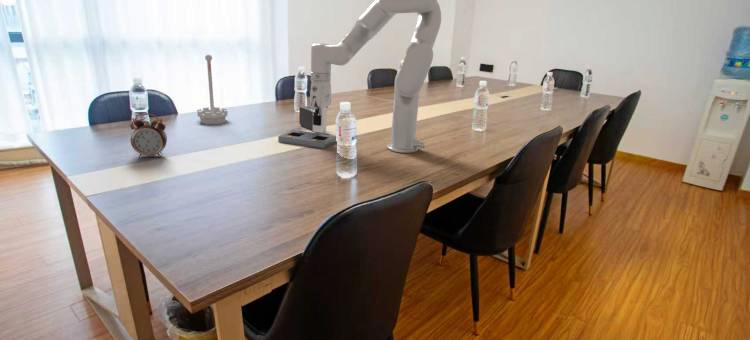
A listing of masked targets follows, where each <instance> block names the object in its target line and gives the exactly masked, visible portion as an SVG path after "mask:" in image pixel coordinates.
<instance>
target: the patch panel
mask: <svg viewBox="0 0 750 340" xmlns="http://www.w3.org/2000/svg"><path fill="white" fill-rule="evenodd" d="M336 136H337V135H331V134H324V133H320V132H319V133H317V132H313V131H312V132H310V131H304V130H298V129H297V130H296V129H293V130H290V131H288V132H285V133H283V134H280V135H278V143H282V144H289V145H297V146H302V147H310V148H316V149H322V150H325V149H326V148H328V147H330V146H331V145H334V144H335V143H337V142H336Z"/></svg>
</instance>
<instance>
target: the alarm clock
mask: <svg viewBox="0 0 750 340" xmlns="http://www.w3.org/2000/svg"><path fill="white" fill-rule="evenodd" d="M140 116H152V117H155V119H154V120H152V122H151V123H150V121H144V120H142V119H140V118H139V117H140ZM129 125H130V126H129V127H130V129H131V130H132V131H133V132H132V133H131V136H130V145H131V147H132V148H133V150H134V151H135V152H137V154H138V155H139V156H138V158H139V159H140V158H141V156H145V157H152V156H153V157H154V156H156V155H157V156H159V158H162V156H161V155H163V151H164V149H165V148H166V147H167V146H166V145H167V141H168V137H167V133H166V131H165V130H166V127H167V125H166V123H165V122H164V121H163V118H161V119H159V117H158V116H157V115H156V114H153V113H140V114H137V115H136V116H135V118H134V117H133V118H132V121H130V124H129Z"/></svg>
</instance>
